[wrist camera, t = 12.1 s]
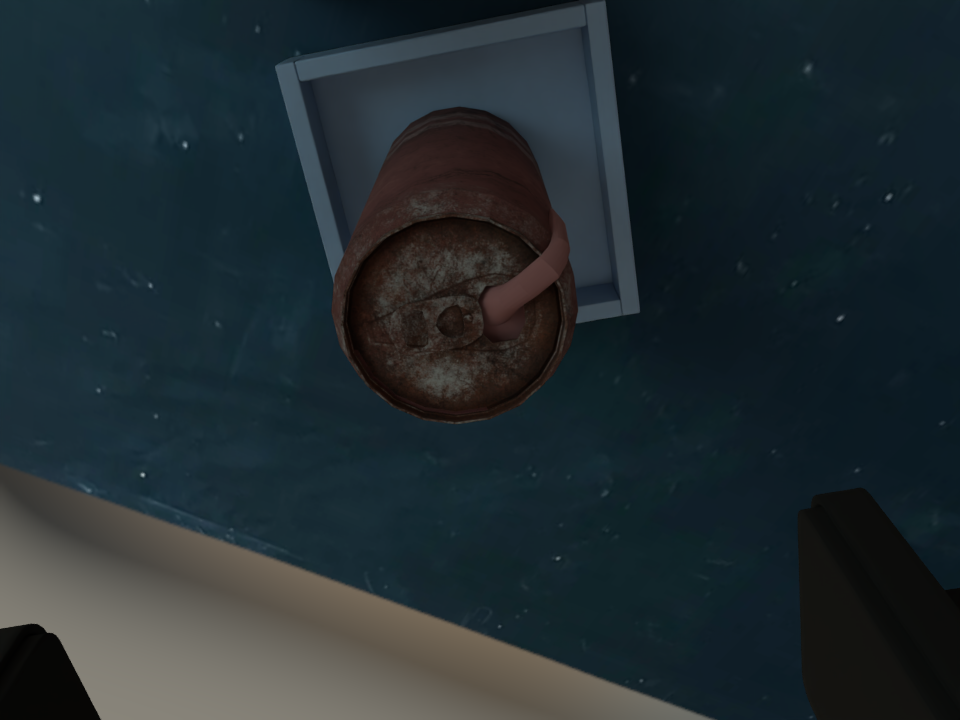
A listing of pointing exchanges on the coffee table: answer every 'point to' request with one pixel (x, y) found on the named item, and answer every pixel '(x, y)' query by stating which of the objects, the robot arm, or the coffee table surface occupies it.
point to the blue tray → (485, 86)
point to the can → (456, 273)
